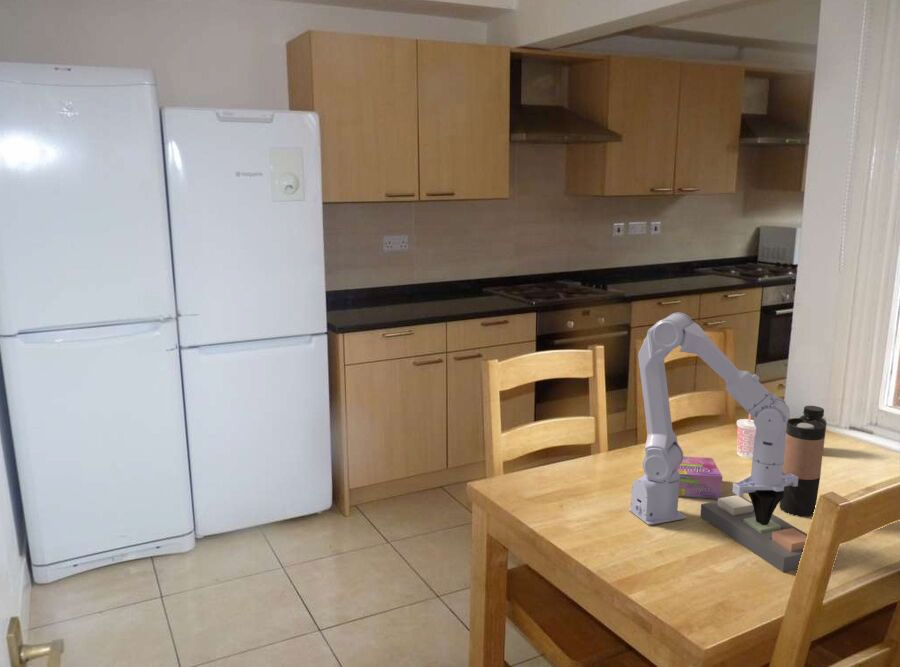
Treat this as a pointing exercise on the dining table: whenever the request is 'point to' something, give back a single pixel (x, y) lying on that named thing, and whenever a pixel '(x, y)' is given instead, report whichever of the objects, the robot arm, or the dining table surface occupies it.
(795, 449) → the travel mug
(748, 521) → the sage button
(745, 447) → the beverage cup
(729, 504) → the cream button
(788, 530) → the terracotta button
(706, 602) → the dining table surface
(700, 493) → the box
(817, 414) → the supplement bottle
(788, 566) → the console
